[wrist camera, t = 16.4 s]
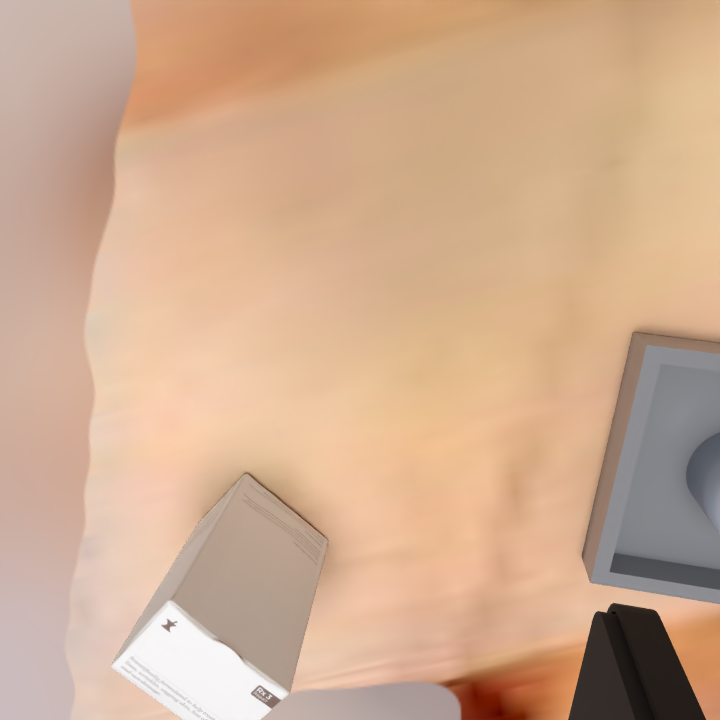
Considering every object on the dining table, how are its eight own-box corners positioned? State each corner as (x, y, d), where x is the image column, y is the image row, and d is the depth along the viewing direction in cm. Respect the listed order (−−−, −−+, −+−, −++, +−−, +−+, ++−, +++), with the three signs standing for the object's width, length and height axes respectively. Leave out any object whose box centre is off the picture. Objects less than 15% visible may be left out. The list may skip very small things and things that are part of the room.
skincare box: (200, 519, 49) (97, 665, 35) (249, 466, 47) (161, 597, 33) (286, 590, 50) (219, 761, 35) (338, 541, 48) (289, 701, 34)
